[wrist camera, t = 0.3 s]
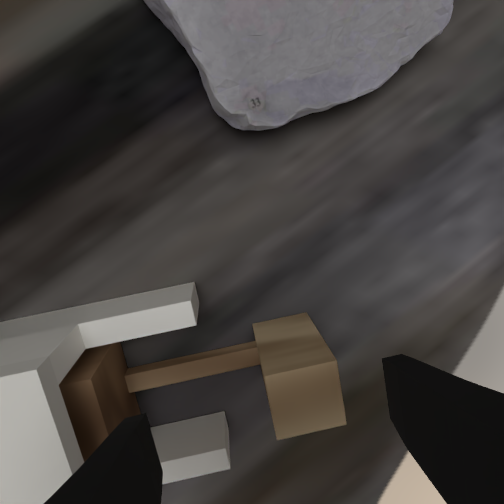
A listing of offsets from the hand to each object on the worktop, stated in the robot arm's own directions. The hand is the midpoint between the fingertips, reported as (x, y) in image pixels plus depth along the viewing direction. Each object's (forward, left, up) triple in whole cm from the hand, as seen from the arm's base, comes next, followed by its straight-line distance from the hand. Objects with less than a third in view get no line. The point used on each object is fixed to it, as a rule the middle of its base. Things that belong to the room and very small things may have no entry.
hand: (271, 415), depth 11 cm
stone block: (+14, -5, -10) cm, 18 cm away
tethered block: (-2, +4, -10) cm, 11 cm away
